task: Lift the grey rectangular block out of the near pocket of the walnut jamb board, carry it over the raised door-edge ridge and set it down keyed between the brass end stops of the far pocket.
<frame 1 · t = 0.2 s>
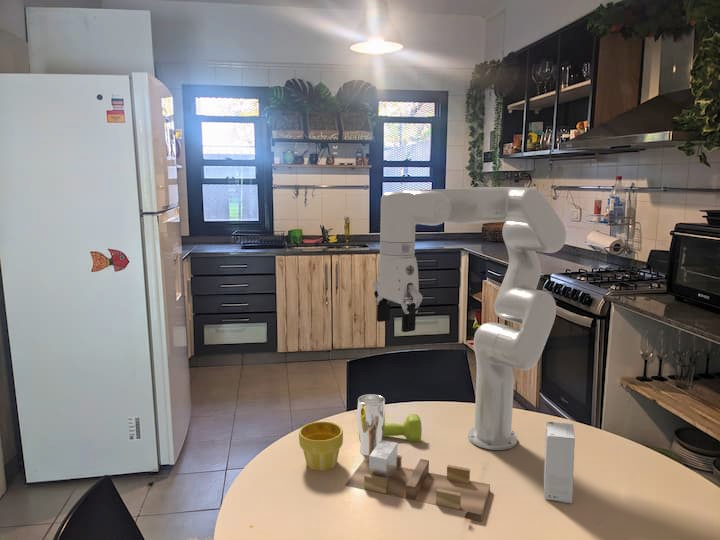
hand: (395, 325, 125), 36 cm above the table, tool pointing down, fingers open, 9 cm apart
grey rectangular block: (383, 477, 128), point 1 cm above the table, touching jamb board
skincare box: (557, 492, 125), on the table
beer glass: (371, 456, 141), on the table
dumbbell: (389, 443, 148), on the table
plant pot: (321, 469, 135), on the table
jamb board: (417, 491, 125), on the table
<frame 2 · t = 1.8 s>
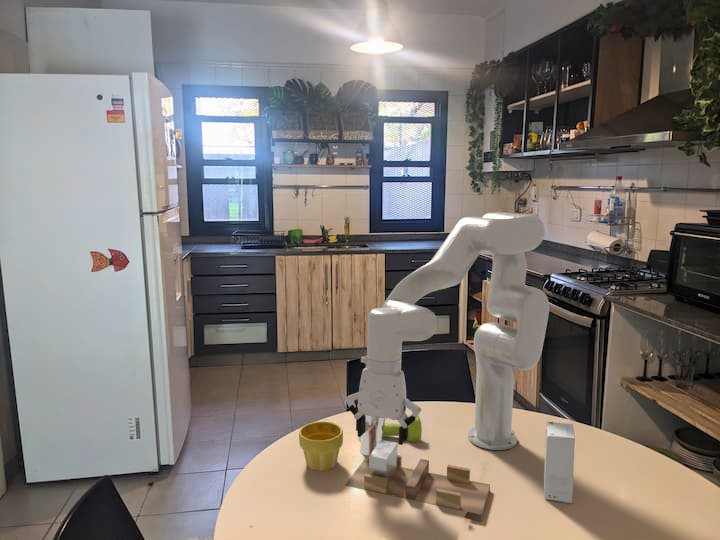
hand: (381, 438, 126), 11 cm above the table, tool pointing down, fingers open, 9 cm apart
nothing on the table moved.
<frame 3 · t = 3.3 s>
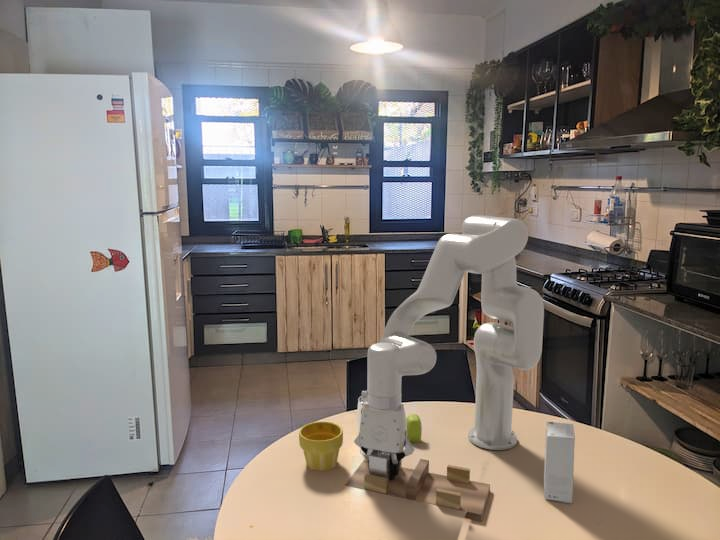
hand: (383, 474, 128), 2 cm above the table, tool pointing down, fingers closed on grey rectangular block, 4 cm apart
grey rectangular block: (383, 477, 128), point 1 cm above the table, touching gripper, jamb board
everything else where it was.
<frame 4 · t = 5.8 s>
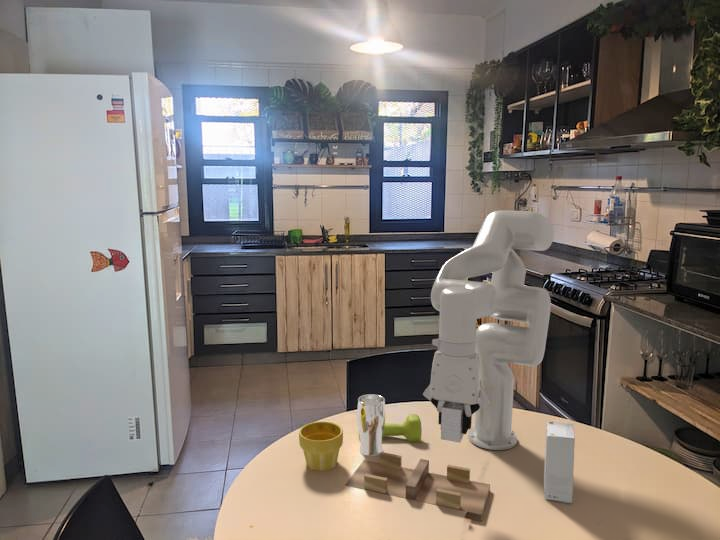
hand: (454, 428, 120), 16 cm above the table, tool pointing down, fingers closed on grey rectangular block, 4 cm apart
grey rectangular block: (454, 432, 120), point 15 cm above the table, touching gripper
everything else where it was.
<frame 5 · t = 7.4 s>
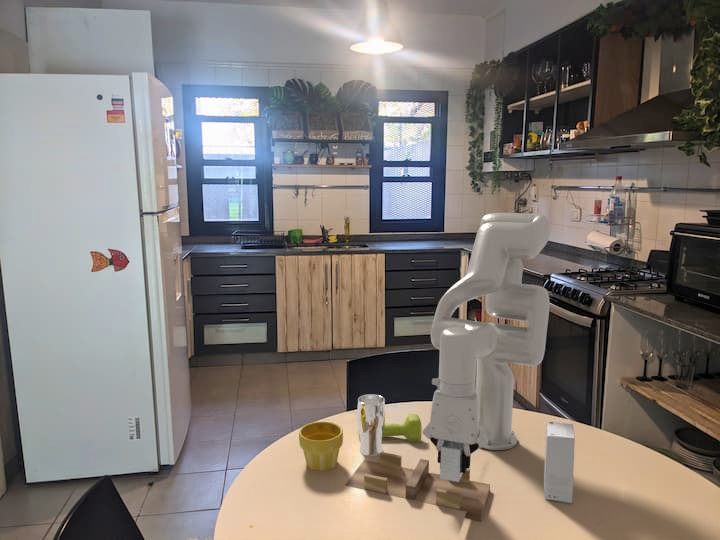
hand: (453, 467, 121), 7 cm above the table, tool pointing down, fingers closed on grey rectangular block, 4 cm apart
grey rectangular block: (453, 471, 121), point 7 cm above the table, touching gripper
everything else where it was.
when the fingers open (4 cm above the table, at t = 8.5 s): grey rectangular block drops 1 cm, resting on jamb board.
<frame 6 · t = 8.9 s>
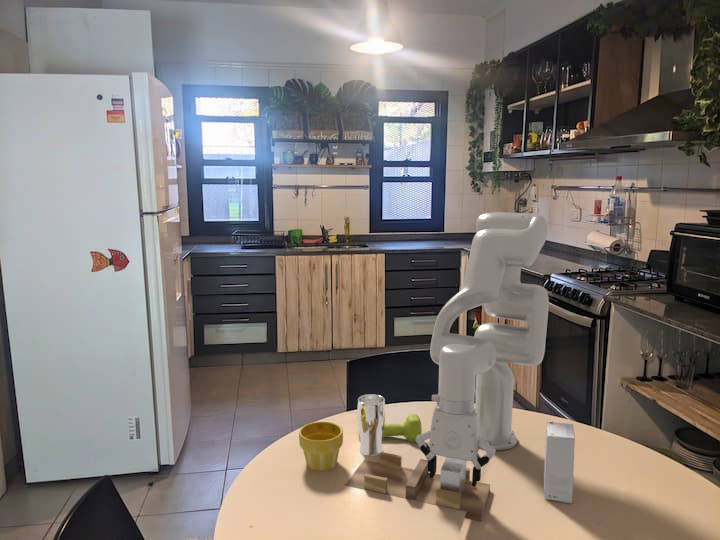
hand: (453, 478, 122), 5 cm above the table, tool pointing down, fingers open, 8 cm apart
grey rectangular block: (453, 492, 122), point 1 cm above the table, touching jamb board
everything else where it was.
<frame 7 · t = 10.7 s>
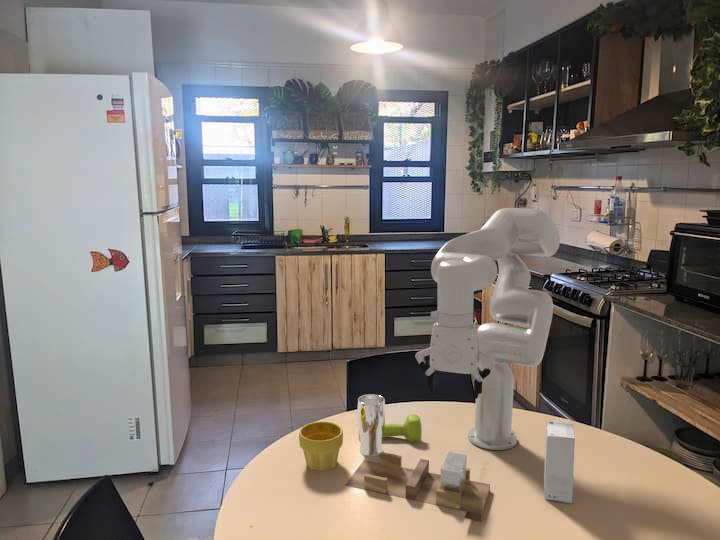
hand: (454, 393, 123), 22 cm above the table, tool pointing down, fingers open, 9 cm apart
nothing on the table moved.
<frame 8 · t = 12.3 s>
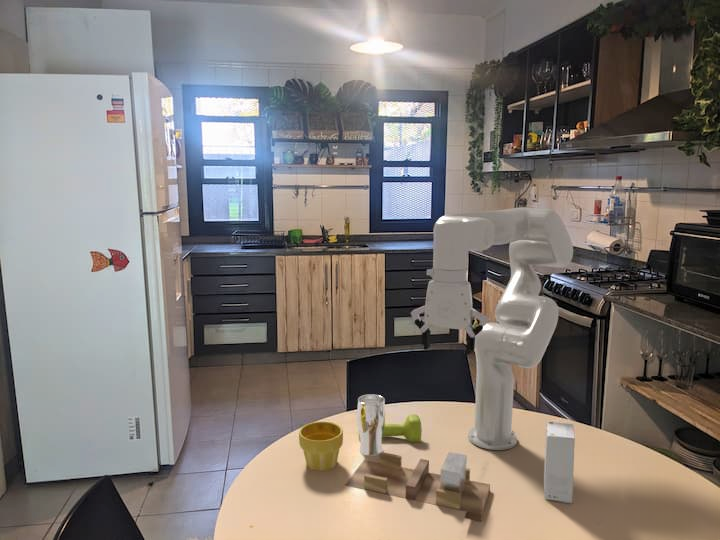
hand: (447, 350, 127), 30 cm above the table, tool pointing down, fingers open, 9 cm apart
nothing on the table moved.
at the end: grey rectangular block 0.0 cm from the target spot on the jamb board, point 1.5 cm above the jamb board's base; grey rectangular block tilted 0°; the gripper is holding nothing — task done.
